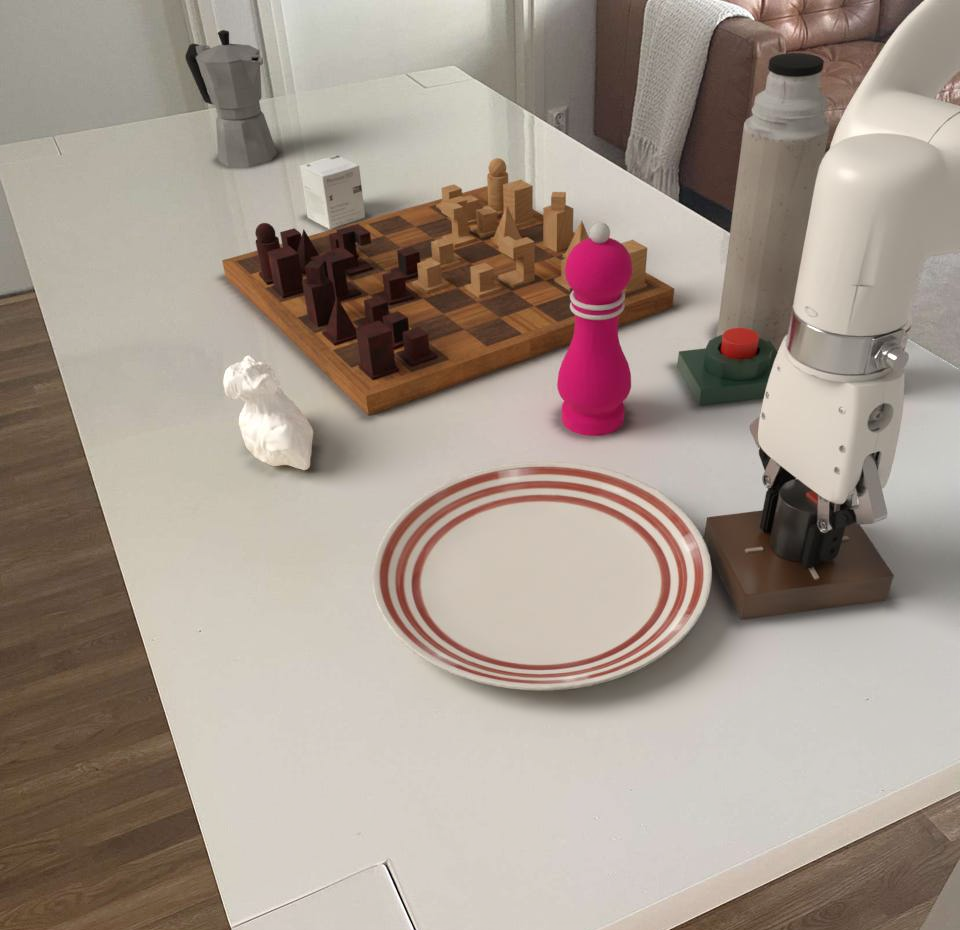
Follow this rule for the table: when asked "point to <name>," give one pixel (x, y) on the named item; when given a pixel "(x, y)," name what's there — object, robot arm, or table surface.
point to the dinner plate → (542, 575)
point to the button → (739, 343)
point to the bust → (268, 416)
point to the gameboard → (430, 290)
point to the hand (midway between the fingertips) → (797, 541)
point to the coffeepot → (233, 100)
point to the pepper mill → (596, 336)
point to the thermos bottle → (774, 198)
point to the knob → (793, 519)
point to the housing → (726, 373)
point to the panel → (791, 570)
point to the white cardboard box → (333, 191)
